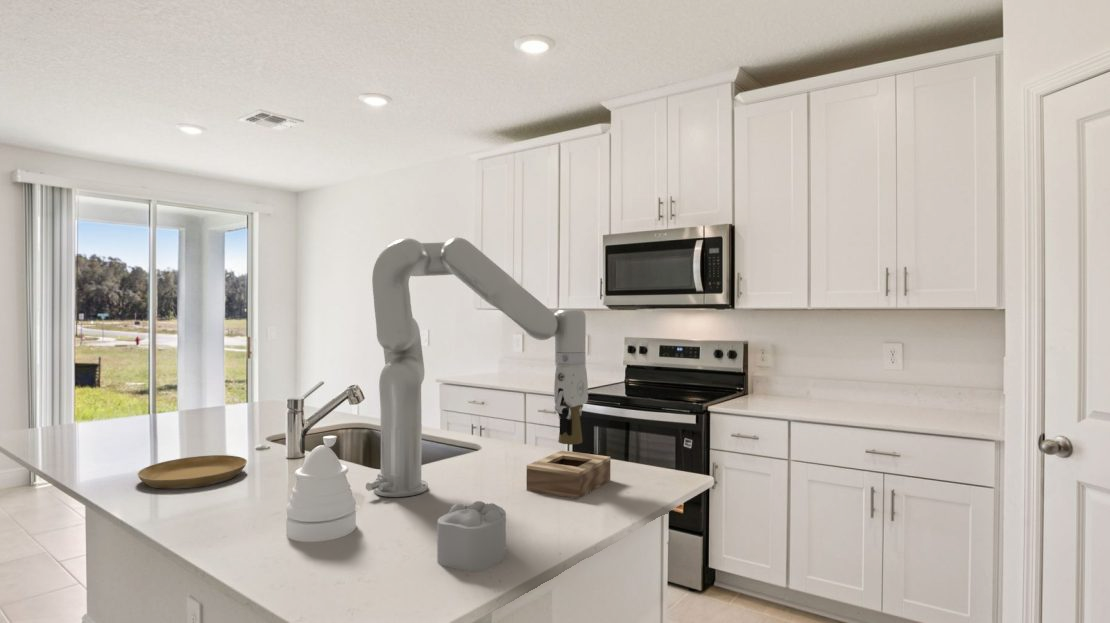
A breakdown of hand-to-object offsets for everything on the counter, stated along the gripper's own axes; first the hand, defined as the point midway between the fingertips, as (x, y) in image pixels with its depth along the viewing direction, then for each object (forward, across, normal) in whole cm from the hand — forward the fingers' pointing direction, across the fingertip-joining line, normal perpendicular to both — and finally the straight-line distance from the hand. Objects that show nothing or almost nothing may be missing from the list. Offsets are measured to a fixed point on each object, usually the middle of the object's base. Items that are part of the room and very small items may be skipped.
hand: (570, 432), depth 157 cm
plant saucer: (+13, -42, +86) cm, 97 cm away
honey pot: (+13, -52, +28) cm, 61 cm away
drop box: (+13, 0, 0) cm, 13 cm away
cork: (+2, 0, 0) cm, 2 cm away
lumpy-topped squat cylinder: (+13, -47, -6) cm, 50 cm away
